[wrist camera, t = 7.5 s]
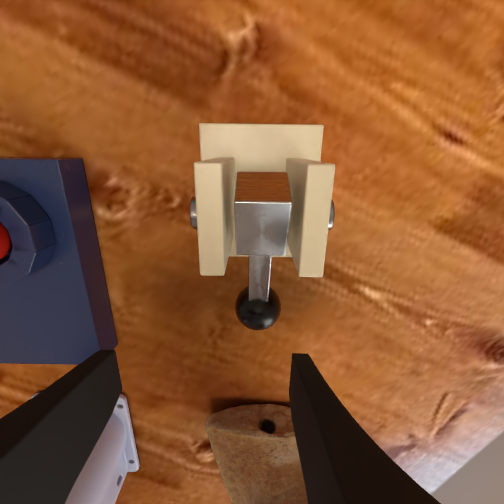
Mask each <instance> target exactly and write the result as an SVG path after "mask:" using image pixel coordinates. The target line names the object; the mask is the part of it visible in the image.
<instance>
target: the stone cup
mask: <svg viewBox="0 0 504 504" xmlns="http://www.w3.org/2000/svg"><path fill="white" fill-rule="evenodd" d="M206 429H207V433H208V437H209V440H210V444H211V447H212V451H213V454H214V456H215V459H216V462H217V464H218V466H219V469H220V474H221V476H222V479H223V482H224V485H225V488H226V490H227V493H228V495H229V497H230V499H231V502H232V504H308V501H307V494H306V488H305V483H304V478H303V473H302V468H301V463H300V458H299V453H298V448H297V443H296V438H295V433H294V428H293V423H292V417H291V408H290V407H285V406H281V405H273V404H261V405H260V404H253V405H242V406H238V407H231V408H228V409H225V410H223V411H219V412H216V413H214V414H212V415H210V416H209V417H208V418H207V420H206Z"/></svg>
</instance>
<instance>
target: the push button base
mask: <svg viewBox="0 0 504 504" xmlns="http://www.w3.org/2000/svg"><path fill="white" fill-rule="evenodd" d="M0 222H1V224H2V225H3V226H4V227H5V228H6V230H7V232H8V233H9V236H10V240H11V247H10V251H9V252H8V254H7V255H6V256H5V257H4V258H2V259H0V363H19V364H80V363H82V362H83V361H84V360H86V359H87V358H89V357H90V356H91V355H93V354H94V353H96V352H97V351H99V350H114V348H115V347H116V346H117V344H118V343H117V338H116V333H115V328H114V323H113V317H112V312H111V307H110V302H109V296H108V291H107V286H106V281H105V276H104V270H103V265H102V260H101V255H100V250H99V244H98V239H97V234H96V229H95V223H94V218H93V213H92V208H91V203H90V197H89V192H88V187H87V182H86V176H85V171H84V166H83V161H82V159H81V158H19V157H0Z"/></svg>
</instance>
